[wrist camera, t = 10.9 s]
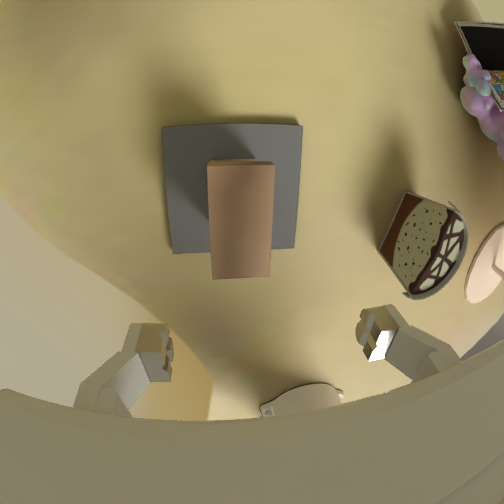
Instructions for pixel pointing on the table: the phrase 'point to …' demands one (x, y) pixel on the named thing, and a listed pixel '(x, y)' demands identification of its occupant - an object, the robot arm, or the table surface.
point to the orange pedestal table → (486, 267)
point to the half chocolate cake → (424, 245)
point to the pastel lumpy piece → (484, 77)
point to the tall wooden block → (240, 217)
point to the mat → (227, 147)
